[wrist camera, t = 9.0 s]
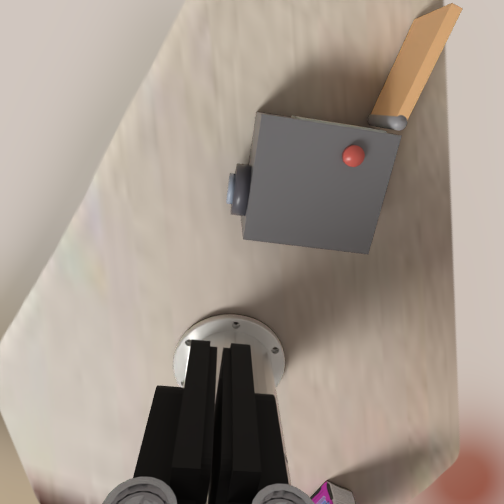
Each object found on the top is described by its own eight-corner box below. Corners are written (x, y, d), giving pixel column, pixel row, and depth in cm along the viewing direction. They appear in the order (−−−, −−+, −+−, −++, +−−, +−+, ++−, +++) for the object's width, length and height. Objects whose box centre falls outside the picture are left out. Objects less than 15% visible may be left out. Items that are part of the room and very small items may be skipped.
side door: (365, 123, 34) (390, 127, 29) (413, 19, 31) (450, 2, 26) (380, 129, 34) (408, 134, 29) (429, 27, 32) (469, 12, 26)
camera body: (348, 232, 38) (370, 257, 32) (223, 216, 37) (222, 239, 31) (374, 128, 35) (405, 134, 29) (237, 106, 33) (239, 108, 27)
